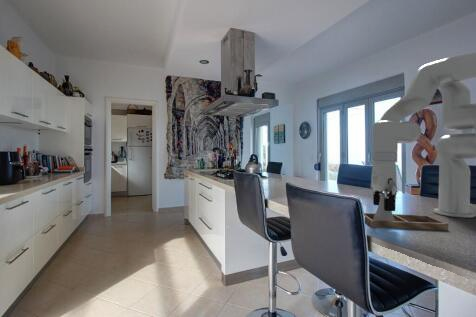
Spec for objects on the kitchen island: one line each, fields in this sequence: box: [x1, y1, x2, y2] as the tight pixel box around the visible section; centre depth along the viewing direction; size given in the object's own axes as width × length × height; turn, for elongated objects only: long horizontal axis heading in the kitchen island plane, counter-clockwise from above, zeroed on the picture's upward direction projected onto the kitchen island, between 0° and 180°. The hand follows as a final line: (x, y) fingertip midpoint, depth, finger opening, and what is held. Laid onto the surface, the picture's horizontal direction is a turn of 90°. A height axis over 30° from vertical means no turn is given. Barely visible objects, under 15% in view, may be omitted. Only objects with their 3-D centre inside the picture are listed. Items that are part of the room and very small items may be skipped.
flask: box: [373, 192, 395, 221], centre depth 89 cm, size 7×7×10 cm
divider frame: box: [363, 212, 449, 231], centre depth 89 cm, size 22×12×2 cm, turn 81°
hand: (383, 207), depth 89 cm, fingers open, 9 cm apart
